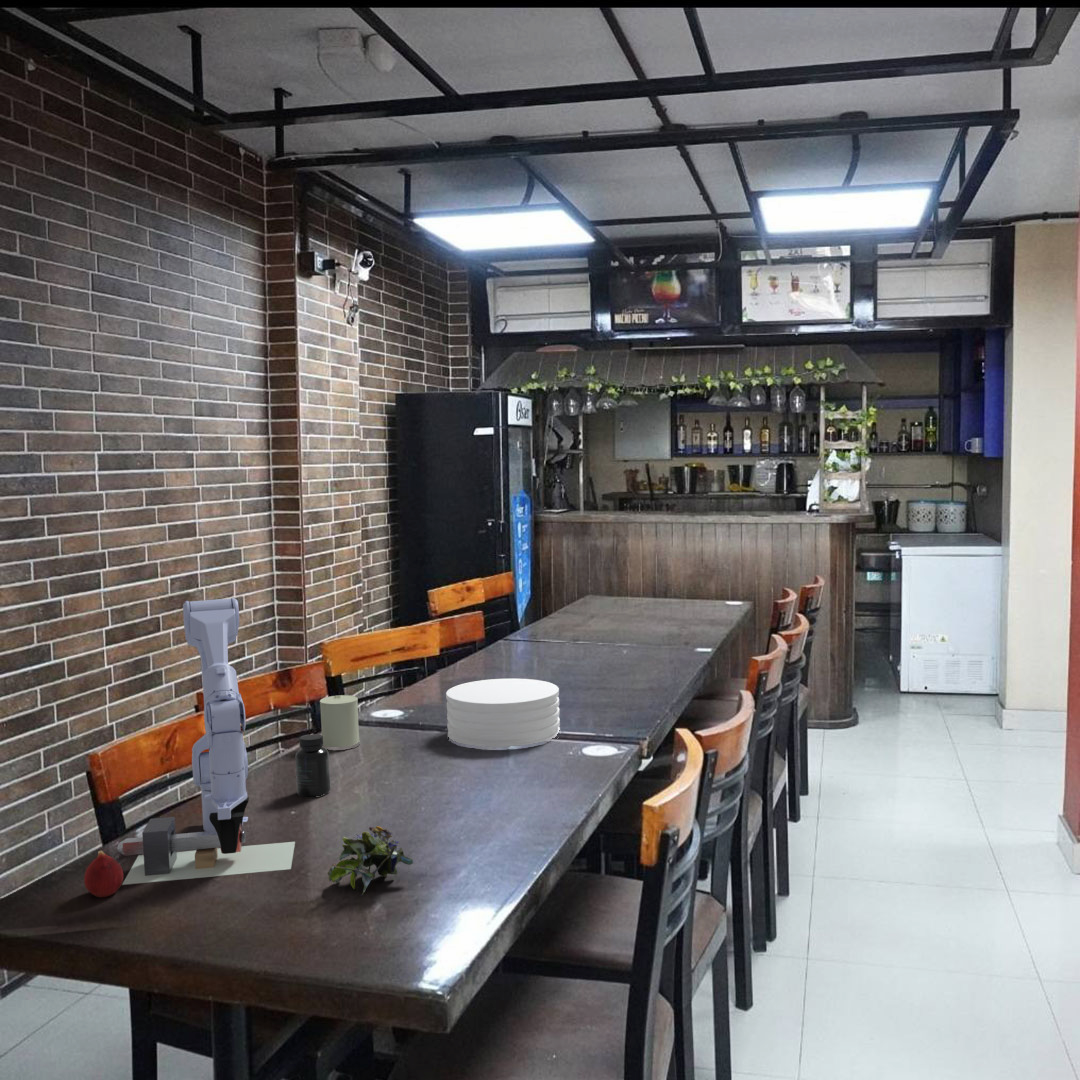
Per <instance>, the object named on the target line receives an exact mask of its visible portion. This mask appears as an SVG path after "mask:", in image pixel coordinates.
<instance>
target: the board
mask: <svg viewBox="0 0 1080 1080" xmlns="http://www.w3.org/2000/svg"><path fill="white" fill-rule="evenodd" d="M295 844H296V841H288V842H276V843H275V842H274V843H266V844H265V843H264V844H254V845H252V844H251V845H244V846H243V845H242V848H241V852H236V853H229V854H222V853H221V847H217V853H218V857H217V860H216V863H215V866H214V867H212V868H201V869H195V853H196V850H197V849H194V850H183V851H177V859H176V861H175V863H174V866H173V868H172V870H171V872H170V874H159V875H149V876H145V869H144V854H138V855H137V857H136V859H135V861H134V862H133V864H132V866H131V868H130V870H129V872H128V873H127V875H126V877H125V879H123V882H122V884H121V886H125V885H135V884H149V883H156V882H157V883H159V882H167V881H177V880H179V881H180V880H190V879H201V878H211V877H221V876H222V877H223V876H233V875H243V874H254V873H265V872H274V871H287V870H291V869H292V865H293V864H292V863H293V858H294V852H295V851H294V850H295V848H296V847H295V846H296V845H295Z"/></svg>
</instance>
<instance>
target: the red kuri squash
mask: <svg viewBox="0 0 1080 1080" xmlns="http://www.w3.org/2000/svg"><path fill="white" fill-rule="evenodd" d="M83 881H84V882H83V883H84V886H85V889H86V890H87V891H88V892H89V893H90V894H91V895H94V896H95V897H97V898H108V897H111V896H112V895H114V894H115V893H116V892H117V891H118V890H119V889H120V888H121V886H122V884H123V882H124V871H123V868H122V865H121V864H120V863H119V862H118V861H117V860H116V859H115V858H114V857H112V856H110V855H108V854H106V853H105V852H104V851H103V850H99V851H98V854H97V857H96V858H94V859H93V860H92V861H91V862H90V863H89V865H88V866H87V867H86V869H85V873H84V878H83Z"/></svg>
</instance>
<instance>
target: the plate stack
mask: <svg viewBox="0 0 1080 1080" xmlns="http://www.w3.org/2000/svg"><path fill="white" fill-rule="evenodd" d="M559 695H560V688H559V686H558V685H556V684H554V683H552V682H549V681H545V680H541V679H531V678H492V679H491V678H490V679H481V680H475V681H469V682H465V683H461V684H458V685H455V686H453V687H451V688H449V689H447V691H446V693H445V696H446V700H447V701H446V710H447V712H446V718H447V719H446V720H447V723H446V724H447V725H446V726H447V727H446V728H447V738H448V737H449V738H450V739H452V740H453V741H456V742H458V743H463V744H469V745H475V746H487V747H510V746H521V745H528V744H533V743H538V742H542V741H546V740H550V739H552V738H555V737H556V736H557V734H558V732H559V730H560V731H561V727H560V726H561V722H560V721H561V719H560V711H561V710H560V707H559V706H560V697H559Z"/></svg>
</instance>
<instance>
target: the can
mask: <svg viewBox="0 0 1080 1080" xmlns="http://www.w3.org/2000/svg"><path fill="white" fill-rule="evenodd" d="M319 706H320V724H321V727H320V728H321V735H322V736H323V742H324V746H327V747H328V746H329V747H346V746H352V745H355V744H357V743H358V742H360V733H359V731H360V730H359V729H360V728H359V710H358V709H359V707H358V706H359V704H358V697H357V696H355V695H350V694H349V695H348V694H347V695H346V694H344V695H343V694H341V695H331V696H327V697H324V698H321V699H320V700H319Z"/></svg>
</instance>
